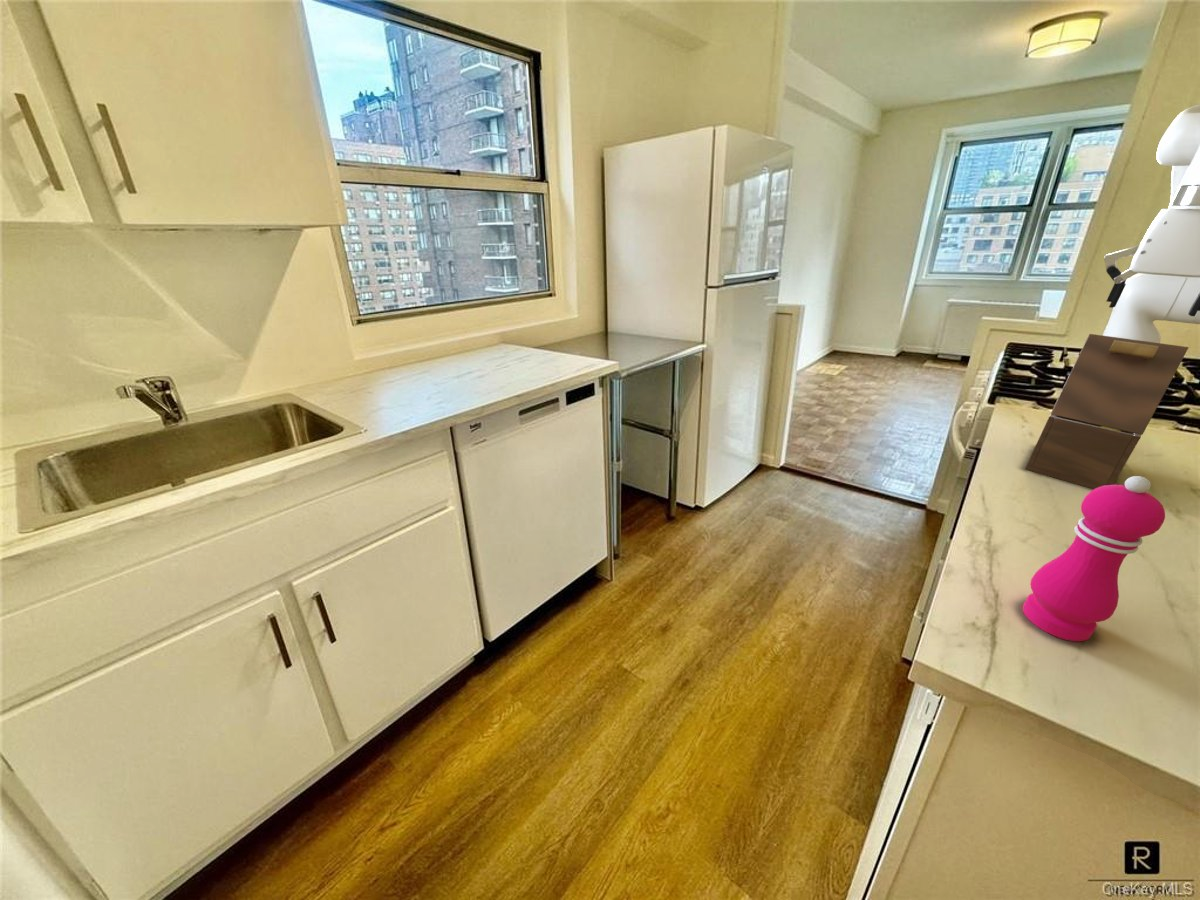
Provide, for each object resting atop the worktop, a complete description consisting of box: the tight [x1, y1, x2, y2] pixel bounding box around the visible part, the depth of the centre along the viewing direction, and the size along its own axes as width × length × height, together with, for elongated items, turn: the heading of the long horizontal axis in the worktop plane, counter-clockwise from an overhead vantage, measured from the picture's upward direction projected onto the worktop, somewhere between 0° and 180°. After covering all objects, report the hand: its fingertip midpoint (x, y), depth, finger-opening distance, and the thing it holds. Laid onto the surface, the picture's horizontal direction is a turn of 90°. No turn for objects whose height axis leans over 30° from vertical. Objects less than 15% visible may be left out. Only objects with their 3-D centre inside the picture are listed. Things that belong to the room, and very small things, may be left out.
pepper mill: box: [1022, 475, 1166, 642], centre depth 53 cm, size 7×7×20 cm
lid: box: [1050, 333, 1190, 436], centre depth 79 cm, size 14×12×6 cm
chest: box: [1024, 414, 1142, 490], centre depth 89 cm, size 14×12×11 cm
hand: (1150, 310), depth 83 cm, fingers open, 9 cm apart
